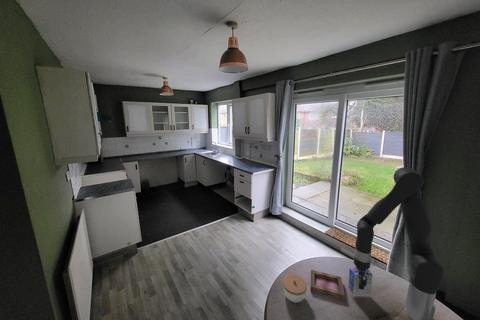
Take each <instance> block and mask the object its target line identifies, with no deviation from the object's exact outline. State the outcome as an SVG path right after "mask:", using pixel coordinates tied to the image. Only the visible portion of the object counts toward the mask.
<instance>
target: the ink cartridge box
mask: <svg viewBox="0 0 480 320" xmlns="http://www.w3.org/2000/svg"><path fill="white" fill-rule="evenodd" d="M355 267H356V268H355ZM355 267H354V268H353V267H352V268H348V269H349V273H348V289H349V291H350V292H351V293H352V295H353V296H357V295H359V296H360V295H371V294H372V284H373V283H372V282H373V273H372V272H371V271H370V269H367V270H366V276H367V283H366V286H364V290H361V289H359V278H358V277H359V276H360V277H361V275H358V271H357V268H358V267H357V266H356V265H355Z"/></svg>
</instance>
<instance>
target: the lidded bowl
mask: <svg viewBox="0 0 480 320" xmlns="http://www.w3.org/2000/svg"><path fill="white" fill-rule="evenodd" d="M307 286H308V285H307V282H306V281H305V279H304V278H303V277H302V276H300V275H298V274H293V273H290V274H286V275H285V276H284V277H283V279H282V289H283V290H282V292H283V293H284V295H285V298H287V300H289V301H290V302H291V303H293V302H294V303H293V304H298V303H301V302H302V301H304V300H305V297H306V294H307V288H308V287H307Z"/></svg>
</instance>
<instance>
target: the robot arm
mask: <svg viewBox="0 0 480 320" xmlns="http://www.w3.org/2000/svg"><path fill="white" fill-rule="evenodd" d="M393 181H394V183H395V184H394V186H393V187H392V189H391V190H390V191H389V192H388V193H387V194H386V195H385V196H384V197H382V198H381V199H380V200H378V201H377V202H376V203H375V204H373V206H372V207H371V208H370V210H368V212H367V213H366V214H365V215H363V216H362V217H361V218H360V219H359V220H358V221H357V223H356V230H357V231H356V239H355V248H354V252H353V264H354V265H355V267H354V268H356V266H357V267H358V268H357V271H358V275H361V277H360V276H359V277H358V278H359V289H361V290H364V286H366V283H367V276H366V270H367V269H368V270H370V268H371V261H372V247H373V245H372V243H373V240H374V236H375V231H374V228H375V227H376V226H377V225H381V224H382V223H383V222H384V221H385V220H386V219H387V218H388V217H389V216H390V215H391V213H393V212H394V210H396V209H397V207H399V206H400V205H401V206H400V208H401V213H402V219H403V223H404V227H405V231H406V235H407V236H408V237H407V238H408V240H409V244H410V254H411V255H410V256H411V262H412V264H413V265H414V267H415V273H413V274H411V276H410V279H409V283H408V289H407V293H406V299H405V304H404V312H405V314H406V315H407V316H408V317H409V318H410V319H411V320H434V316H435V312H436V306H435V301H436V295H437V292H438V291H439V290H440V288H441V287H442V284H443V281H444V280H443V279H444V275H445V270H444V268H443V266H442V264H441V263H440V261H439V260H438V259H437V258H436V256H435V254H434V252H433V249H432V247H431V246H432V245H431V238H432V233H433V228H432V227H433V226H432V223H431V218H430V215H429V212H428V210H427V207H426V206H425V203H424V202H423V199H422V197H421V194H420V192H421V191H420V189H421V188H422V187H423V185H424V183H425V181H424V177H423V175H422V174H421V173H419V172H418V171H417V170H415V169H413V168H411V167H408V166H405V167H400V168H398V169H397V170H395V172H394V174H393Z"/></svg>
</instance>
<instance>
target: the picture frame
mask: <svg viewBox="0 0 480 320" xmlns="http://www.w3.org/2000/svg"><path fill="white" fill-rule="evenodd" d="M309 288H310V290H309V291H310V292H312V293H314V294H318V295H321V296H324V297H325V296H326V297H329V298H333V299H335V300H339V301H343V302H345V290H344V284H343V279H342V276H340V275H334V274H330V273H327V272H321V271H317V270H313V269H311V270H310V287H309Z"/></svg>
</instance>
